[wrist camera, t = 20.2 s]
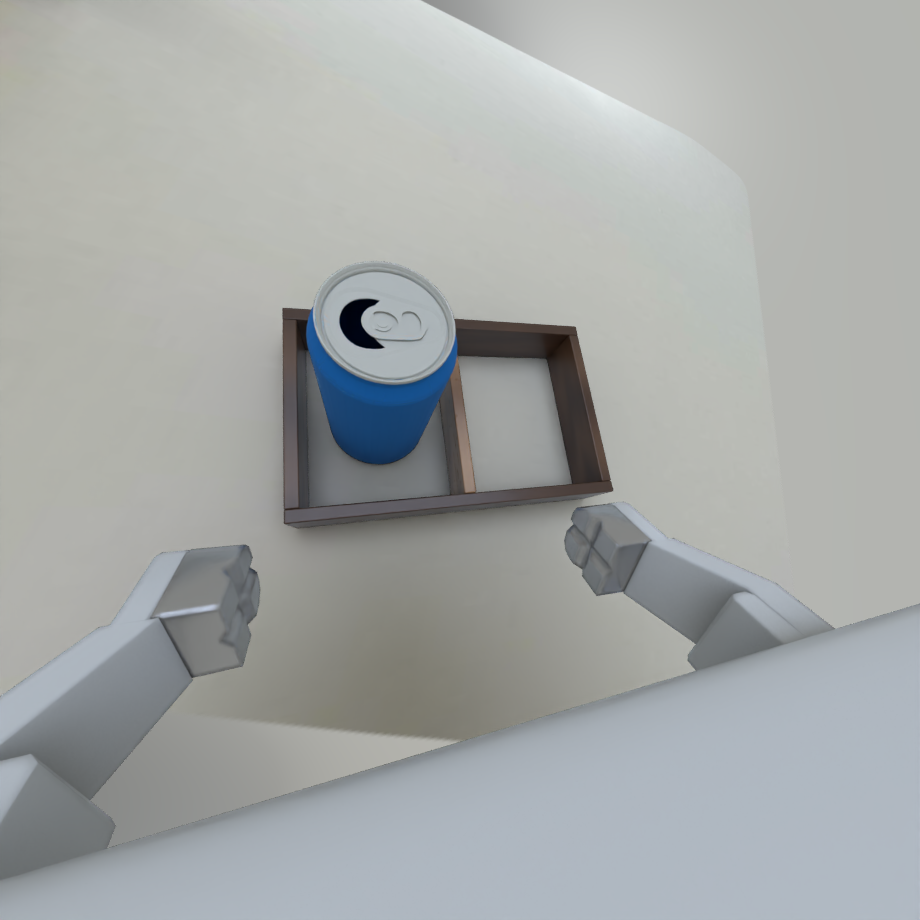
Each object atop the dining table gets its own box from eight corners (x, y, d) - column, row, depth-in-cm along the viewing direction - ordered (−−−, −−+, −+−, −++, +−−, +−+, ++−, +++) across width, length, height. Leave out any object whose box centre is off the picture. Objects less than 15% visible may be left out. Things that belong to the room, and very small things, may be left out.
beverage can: (327, 384, 25) (296, 244, 13) (416, 383, 26) (453, 259, 15) (333, 470, 23) (304, 395, 12) (426, 462, 25) (476, 391, 14)
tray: (583, 498, 28) (613, 491, 24) (296, 528, 22) (283, 524, 18) (552, 350, 31) (575, 326, 27) (293, 340, 25) (282, 307, 21)
